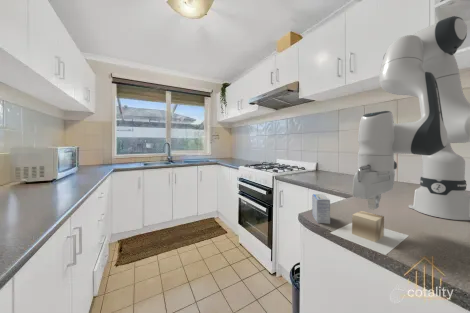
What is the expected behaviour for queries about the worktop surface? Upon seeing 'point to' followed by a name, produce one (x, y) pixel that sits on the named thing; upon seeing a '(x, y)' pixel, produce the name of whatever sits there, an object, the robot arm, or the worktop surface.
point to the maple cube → (368, 225)
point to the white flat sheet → (381, 245)
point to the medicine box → (321, 208)
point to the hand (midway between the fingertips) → (373, 208)
